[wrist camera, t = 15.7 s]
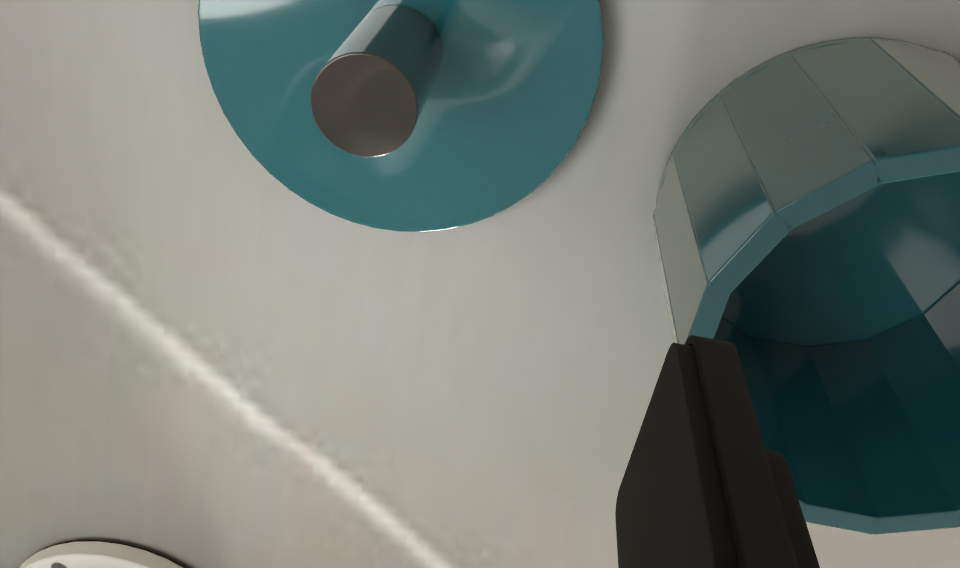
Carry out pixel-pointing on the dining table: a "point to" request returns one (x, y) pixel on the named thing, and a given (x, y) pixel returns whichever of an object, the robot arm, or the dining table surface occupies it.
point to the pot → (832, 270)
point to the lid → (405, 99)
